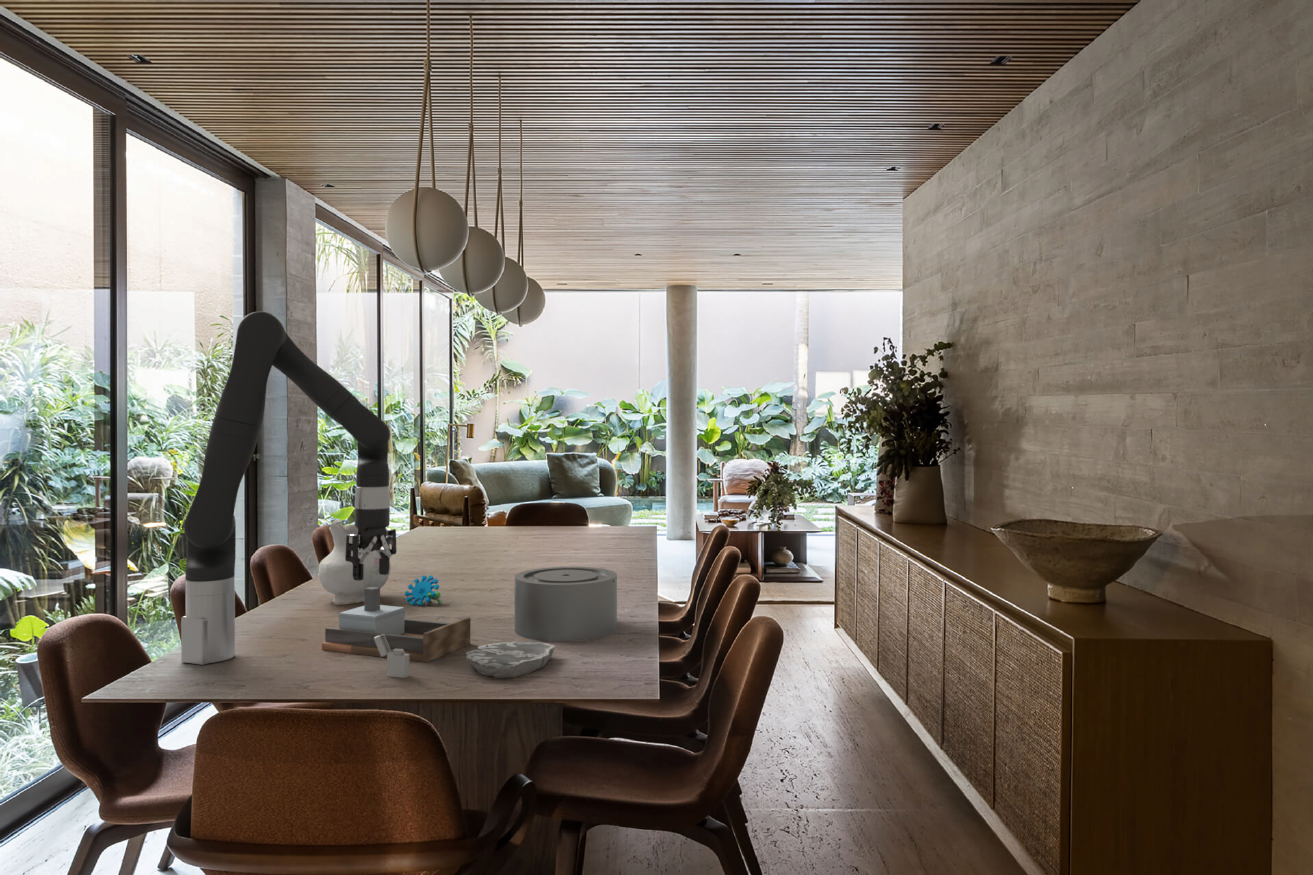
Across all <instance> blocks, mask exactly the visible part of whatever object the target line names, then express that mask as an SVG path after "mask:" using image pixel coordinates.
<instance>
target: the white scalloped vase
mask: <svg viewBox="0 0 1313 875" xmlns="http://www.w3.org/2000/svg"><path fill="white" fill-rule="evenodd" d="M330 523H331V524H330V526H329V531H330V533H331V536H332V540H333V544H334V545H333V549H332V551H331V552H330V553H329V554H327V556H325V557H324V558H323V559H322V560H321V561H320V562H319V565H318V572H317V573H318V579H319V582H320V583H321V586H322V588H324V590H325V591H326V592H327V593H328V594H329V593H330V594H333V595H334V598H333V600H332V602H333V605H337V606H339V605H340V606H341V605H349V604H350V605H351V604H355V603H364V589H366V588H369V587H378V588H380V589H381V588H383V587H384V586H385V585H386V583H387V581H388V580H389V577H390V574H391V570H392V569H391V568H392V564H391V560H389V573H388V574H387V575H381V574H379V558H381V557H380V556H379V554H378V552H377V551H375V550H374V551H371V552H370V553H369V555H367V556H366V557H365V559H364V561H363V563H362V564H364V570H363V580H360V581H358V580H354V579H353V564H352V563H351V562H349V561H346V560H345V555H346V538H347V535H348V534H352V535H357V533H358V528H357V527H355V523H353V524H347V525H344V524H343V521H342V519H341V518H340V519H339V518H338V519H335V520H331V521H330ZM360 550H362V548H361V549H360ZM351 556H353V551H351ZM358 558H360V555H359V557H358Z"/></svg>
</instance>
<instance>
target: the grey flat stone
mask: <svg viewBox="0 0 1313 875" xmlns="http://www.w3.org/2000/svg"><path fill="white" fill-rule="evenodd" d="M554 651H555V645H554V644H551V643H546V642H541V641H540V642H539V641H532V640H531V641H530V640H524V641H509V642H508V641H507V642H506V641H505V642H496V643H493V642H492V643H487V644H483V645H481V644H480V645H478V646H477V647H476V649H471V650H468V651H466V652H464V655H465V659H466V660H467V661H469V662H470V663H471V666H472V667H474V669H475V670H476V672H478V673H479V674H481V675H483V676H490V677H493V678H494V679H495V678H496V679H510V678H512V679H513V678H516V677H519V676H523V675H527V674H529V673H533V672H534V671H535V672H536V671H537V670H538V669H542V668H544V666H546V664H547V663H548V661H549V660H550V659H551V657H552V656H553V654H554Z"/></svg>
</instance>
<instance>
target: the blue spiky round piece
mask: <svg viewBox="0 0 1313 875" xmlns="http://www.w3.org/2000/svg"><path fill="white" fill-rule="evenodd" d="M413 583H414V586H413V584H412V583H409V585H407V588H408V589H409V590H411V592H410V591H409V590H406V591H405V592H404V596H405V601H406V603H409V605H411V606H413V607H414V606H415V605H417V606H420V607H421V606H422V605H423V604H424V603H423V602H425V603H430V602H431V601H432V600H434V601H437V603H438V604H441V603H442V601H441V599H440V597H441V593H440V591H439V588H440V585H439V580H438V579H437V578H435V577H434V576H433V575H431V574H430V575H429V576H428V577H427V575H425V574H424V575H422V576H421V580H420V579H419V578H415V579H413ZM433 589H434V590H435V591H433Z"/></svg>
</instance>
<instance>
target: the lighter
mask: <svg viewBox="0 0 1313 875" xmlns="http://www.w3.org/2000/svg"><path fill="white" fill-rule="evenodd" d="M374 640H375V643H376V645H377V648H378V650H379V652H380V655H381V658H384V657H383V656H385V655H387V657H386V664H387V665H386V670H387V671H386V672H387V674H386V676H387V677H391V678H401V679H406V678H408V677H410V672H411V670H410V666H411V665H410V663H411V660H410V655H409V654H404V653H405V652H404V650H403V649H394V650H393V653H391V649H390V647H389V645H388V642H387V640H386V637H385V635H384V634H381V635H379V636H377V637H375V638H374Z"/></svg>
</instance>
